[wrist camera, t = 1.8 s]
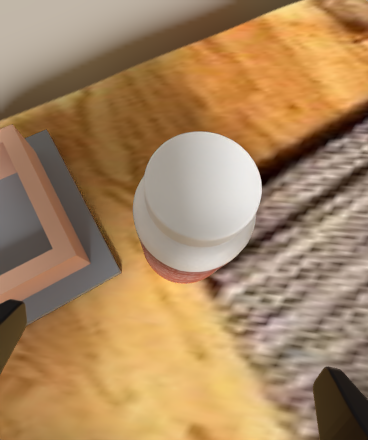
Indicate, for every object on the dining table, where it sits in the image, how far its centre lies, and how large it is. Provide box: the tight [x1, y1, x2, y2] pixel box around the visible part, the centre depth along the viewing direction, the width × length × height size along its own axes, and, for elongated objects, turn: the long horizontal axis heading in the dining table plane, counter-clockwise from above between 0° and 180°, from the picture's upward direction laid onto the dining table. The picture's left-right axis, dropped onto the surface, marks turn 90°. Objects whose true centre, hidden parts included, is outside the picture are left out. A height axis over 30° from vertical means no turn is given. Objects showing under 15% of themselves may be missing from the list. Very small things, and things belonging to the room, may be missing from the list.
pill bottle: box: [133, 131, 262, 284], centre depth 16 cm, size 6×6×11 cm
